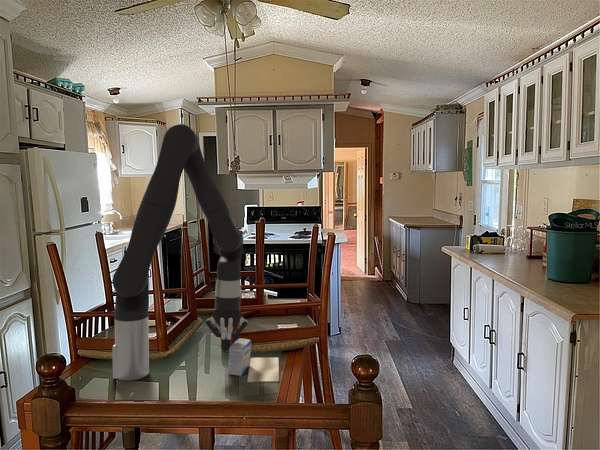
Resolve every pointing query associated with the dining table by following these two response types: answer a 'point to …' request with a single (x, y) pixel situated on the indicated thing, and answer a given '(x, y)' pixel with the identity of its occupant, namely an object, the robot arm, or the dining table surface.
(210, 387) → the dining table surface
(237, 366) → the medicine box
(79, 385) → the dining table surface
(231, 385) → the dining table surface
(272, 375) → the board
